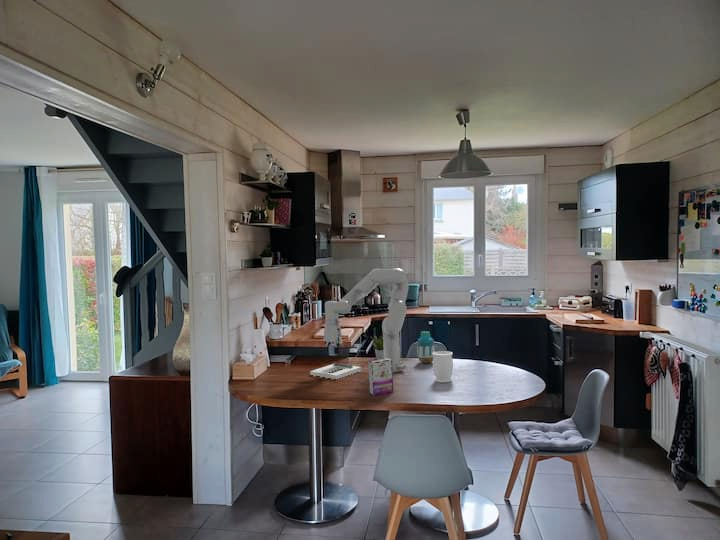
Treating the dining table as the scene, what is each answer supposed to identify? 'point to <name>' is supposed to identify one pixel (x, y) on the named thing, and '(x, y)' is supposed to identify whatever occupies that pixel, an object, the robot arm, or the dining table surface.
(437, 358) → the jar
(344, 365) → the dark gray bar handle
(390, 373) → the candy bar box
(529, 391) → the dining table surface
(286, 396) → the dining table surface
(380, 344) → the house plant
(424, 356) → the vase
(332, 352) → the stacked blue discs
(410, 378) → the dining table surface
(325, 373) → the white frame with handle
